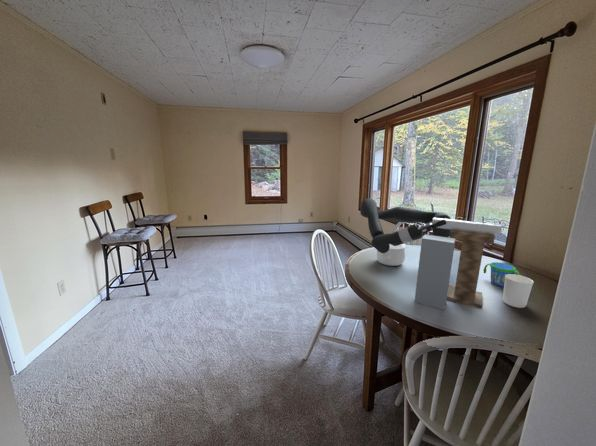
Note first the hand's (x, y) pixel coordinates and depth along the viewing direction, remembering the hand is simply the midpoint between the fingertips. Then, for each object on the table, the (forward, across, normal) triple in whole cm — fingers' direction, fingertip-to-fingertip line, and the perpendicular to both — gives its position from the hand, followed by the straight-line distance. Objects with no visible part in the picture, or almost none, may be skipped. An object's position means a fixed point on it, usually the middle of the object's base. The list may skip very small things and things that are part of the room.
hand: (446, 220), depth 123 cm
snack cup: (+5, +28, +44) cm, 52 cm away
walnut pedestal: (-8, 0, +36) cm, 37 cm away
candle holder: (+9, +7, +46) cm, 48 cm away
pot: (-43, +25, +16) cm, 52 cm away
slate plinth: (-18, -14, +30) cm, 38 cm away
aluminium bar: (+5, 0, +7) cm, 8 cm away
